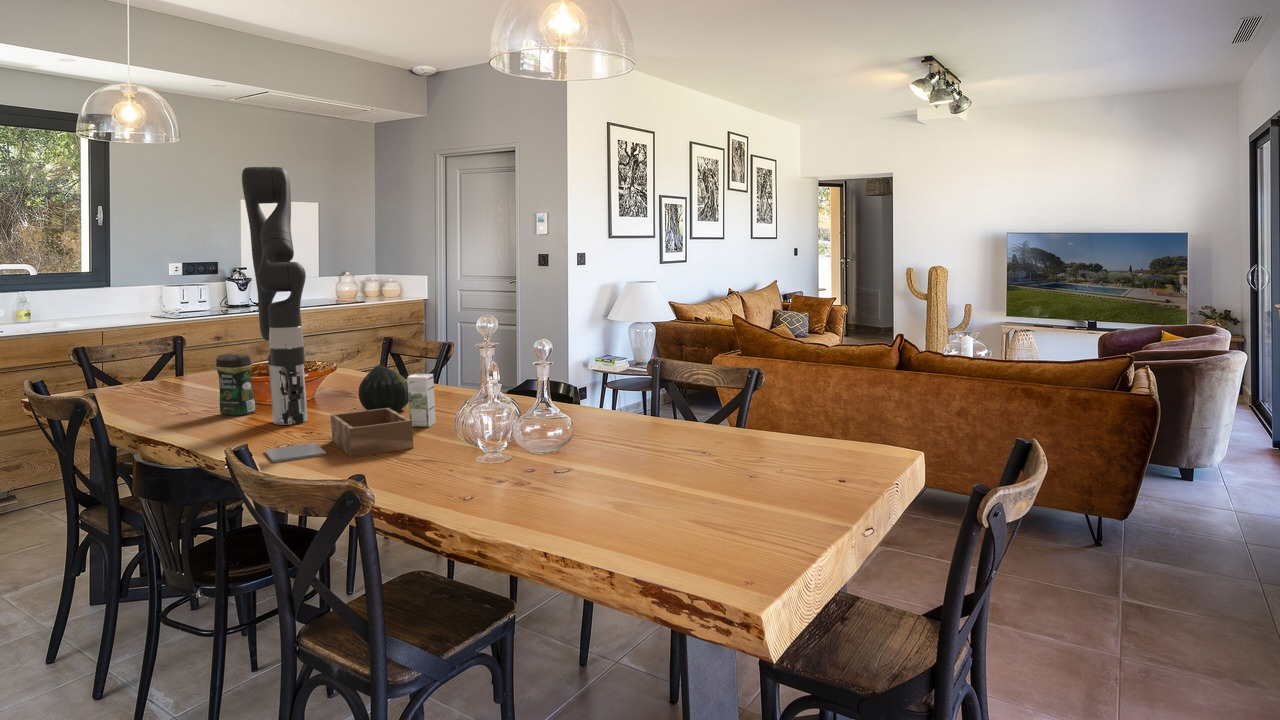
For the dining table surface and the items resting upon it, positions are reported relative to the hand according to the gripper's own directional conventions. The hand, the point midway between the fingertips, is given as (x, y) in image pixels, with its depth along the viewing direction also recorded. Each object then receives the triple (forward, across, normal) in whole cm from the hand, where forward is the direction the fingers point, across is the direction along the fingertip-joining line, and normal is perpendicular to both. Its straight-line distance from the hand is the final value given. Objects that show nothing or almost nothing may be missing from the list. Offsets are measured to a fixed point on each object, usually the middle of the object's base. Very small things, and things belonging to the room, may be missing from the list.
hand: (292, 414), depth 193 cm
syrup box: (+10, -12, +36) cm, 39 cm away
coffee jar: (+10, -63, -5) cm, 64 cm away
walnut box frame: (+10, +2, +18) cm, 21 cm away
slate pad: (+10, 0, 0) cm, 10 cm away
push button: (+3, -1, 0) cm, 3 cm away
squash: (+10, -39, +33) cm, 52 cm away
